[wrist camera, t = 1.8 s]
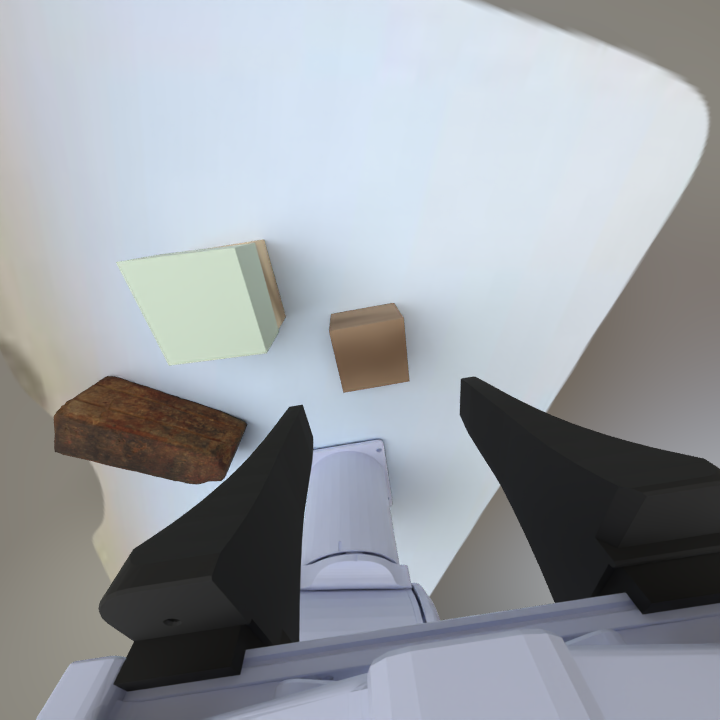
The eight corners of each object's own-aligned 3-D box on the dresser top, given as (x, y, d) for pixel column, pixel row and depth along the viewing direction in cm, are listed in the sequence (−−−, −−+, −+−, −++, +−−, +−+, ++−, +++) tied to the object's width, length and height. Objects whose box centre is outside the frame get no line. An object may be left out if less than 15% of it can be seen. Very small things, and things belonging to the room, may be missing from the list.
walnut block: (399, 357, 21) (409, 381, 18) (343, 367, 21) (343, 392, 18) (393, 302, 19) (403, 317, 16) (331, 313, 19) (329, 331, 16)
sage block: (279, 331, 16) (266, 353, 13) (197, 341, 16) (169, 365, 13) (254, 242, 14) (234, 247, 11) (159, 254, 14) (116, 262, 11)
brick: (105, 410, 21) (49, 455, 17) (110, 371, 20) (49, 411, 16) (237, 448, 24) (216, 495, 20) (251, 417, 23) (231, 461, 19)
